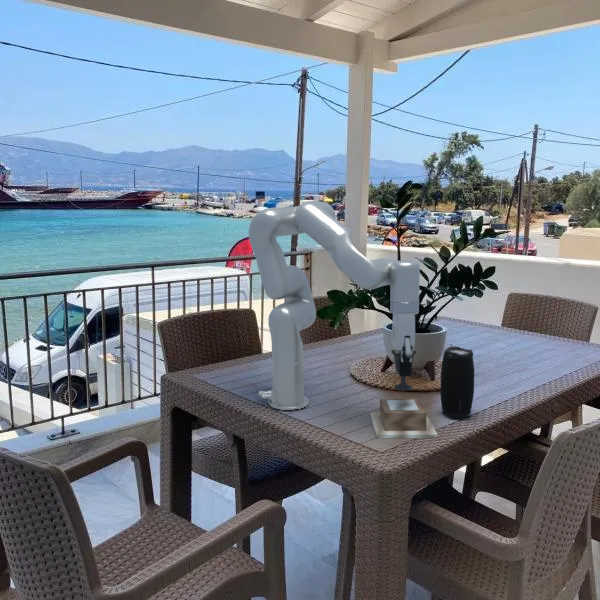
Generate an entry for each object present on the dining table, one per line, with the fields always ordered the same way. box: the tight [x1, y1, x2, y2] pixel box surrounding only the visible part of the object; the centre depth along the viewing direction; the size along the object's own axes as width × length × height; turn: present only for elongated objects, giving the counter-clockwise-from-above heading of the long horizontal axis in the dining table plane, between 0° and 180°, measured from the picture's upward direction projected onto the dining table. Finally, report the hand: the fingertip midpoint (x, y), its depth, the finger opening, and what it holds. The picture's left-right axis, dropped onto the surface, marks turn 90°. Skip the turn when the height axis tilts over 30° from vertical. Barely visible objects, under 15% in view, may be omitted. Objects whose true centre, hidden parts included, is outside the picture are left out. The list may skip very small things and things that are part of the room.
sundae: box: [391, 348, 417, 391], centre depth 155 cm, size 7×7×15 cm
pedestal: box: [369, 398, 439, 439], centre depth 157 cm, size 16×16×6 cm
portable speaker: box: [440, 345, 475, 421], centre depth 164 cm, size 9×9×20 cm
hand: (403, 372), depth 155 cm, fingers closed on sundae, 4 cm apart
